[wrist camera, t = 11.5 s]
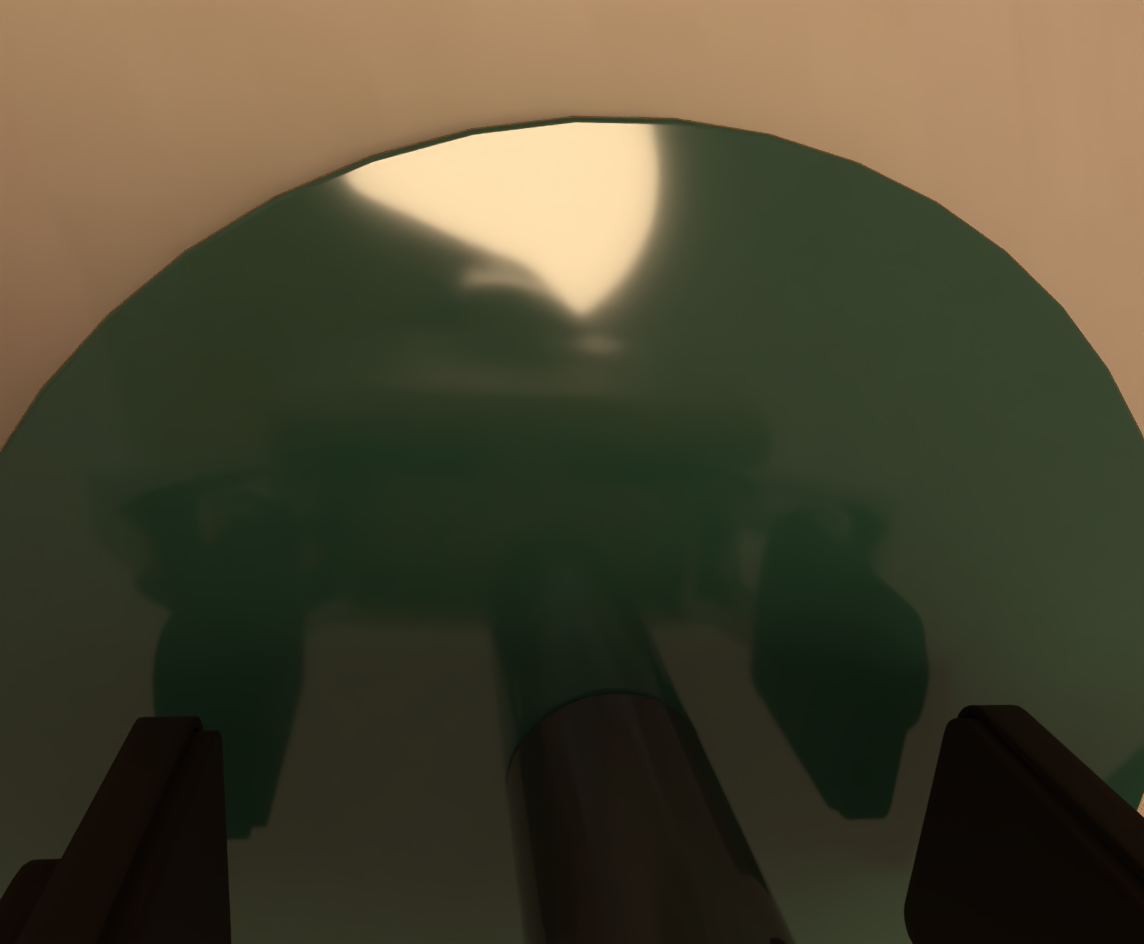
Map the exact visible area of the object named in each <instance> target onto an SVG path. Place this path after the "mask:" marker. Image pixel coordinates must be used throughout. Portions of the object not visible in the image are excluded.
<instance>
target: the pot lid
mask: <svg viewBox="0 0 1144 944" xmlns="http://www.w3.org/2000/svg"><path fill="white" fill-rule="evenodd" d="M969 705H1017V706H1020V707H1021V708H1023V709H1024V710H1026V711H1027V712H1028V713H1029V714H1030V715H1031V716H1033V717H1034V718H1035V719H1036V720H1037V721H1038V722H1039V723H1040V724H1041V725H1042V726H1044V727H1045V728H1046V729H1047V730H1048V731H1049V732H1050V733H1051V734H1052V735H1053V736H1055V737H1056V738H1057V739H1058V740H1059V741H1060V742H1061V743H1062V744H1063V745H1064V746H1066V747H1067V748H1068V749H1069V750H1070V751H1071V752H1072V753H1073V754H1074V755H1075V756H1077V757H1078V758H1079V759H1080V760H1081V761H1082V762H1083V763H1084V764H1085V765H1086V766H1088V767H1089V768H1090V769H1091V770H1092V771H1093V772H1094V773H1095V774H1096V775H1097V776H1099V777H1100V778H1101V779H1102V780H1103V781H1104V782H1105V783H1106V784H1107V785H1108V786H1110V787H1111V788H1112V789H1113V790H1114V791H1115V792H1116V793H1117V794H1118V795H1119V796H1121V797H1122V798H1123V799H1124V800H1125V801H1126V802H1127V803H1128V804H1129V805H1130V806H1132V807H1133V808H1134V809H1135V810H1136V811H1137V810H1138V807H1139V804H1140V802H1141V799H1142V797H1143V794H1144V438H1143V435H1142V433H1141V431H1140V429H1139V427H1138V425H1137V423H1136V421H1135V419H1134V417H1133V415H1132V414H1131V412H1130V410H1129V408H1128V406H1127V404H1126V402H1125V400H1124V398H1123V396H1122V394H1121V392H1120V390H1119V388H1118V386H1117V385H1116V383H1115V381H1114V379H1113V377H1112V375H1111V373H1110V371H1109V369H1108V368H1107V366H1106V365H1105V364H1104V362H1103V361H1102V360H1101V358H1100V357H1099V356H1098V354H1097V353H1096V351H1095V350H1094V349H1093V347H1092V346H1091V345H1090V343H1089V342H1088V341H1087V339H1086V338H1085V337H1084V335H1083V334H1082V333H1081V331H1080V330H1079V328H1078V327H1077V326H1076V324H1075V323H1074V322H1073V320H1072V319H1071V318H1070V316H1069V315H1068V314H1067V312H1066V311H1065V310H1064V308H1063V307H1062V306H1061V305H1060V304H1059V303H1058V302H1057V301H1056V300H1055V299H1054V298H1053V297H1052V296H1051V295H1050V294H1049V293H1048V292H1047V291H1046V290H1045V289H1044V288H1043V287H1042V286H1041V285H1040V284H1039V283H1038V282H1037V281H1036V280H1035V279H1034V278H1033V277H1032V276H1031V275H1030V274H1029V273H1028V272H1027V271H1026V270H1025V269H1024V268H1023V267H1022V266H1021V265H1020V264H1019V263H1018V262H1017V261H1016V260H1014V259H1013V258H1012V257H1011V256H1010V255H1009V254H1008V253H1007V252H1006V251H1005V250H1004V249H1003V248H1001V247H1000V246H998V245H997V244H996V243H994V242H993V241H991V240H990V239H989V238H987V237H986V236H984V235H983V234H982V233H980V232H979V231H977V230H976V229H975V228H973V227H972V226H970V225H969V224H967V223H966V222H965V221H963V220H962V219H960V218H959V217H958V216H956V215H955V214H953V213H952V212H951V211H949V210H948V209H946V208H945V207H944V206H942V205H941V204H939V203H938V202H936V201H934V200H932V199H930V198H928V197H926V196H924V195H922V194H920V193H918V192H916V191H914V190H912V189H910V188H908V187H906V186H904V185H902V184H900V183H898V182H896V181H894V180H892V179H890V178H888V177H886V176H884V175H882V174H880V173H878V172H876V171H874V170H872V169H870V168H868V167H866V166H864V165H862V164H860V163H858V162H856V161H853V160H849V159H846V158H843V157H840V156H837V155H834V154H831V153H828V152H825V151H822V150H818V149H815V148H812V147H809V146H806V145H803V144H800V143H797V142H794V141H791V140H787V139H784V138H781V137H778V136H775V135H772V134H768V133H762V132H756V131H750V130H744V129H738V128H732V127H726V126H720V125H714V124H708V123H702V122H696V121H690V120H684V119H678V118H653V117H604V116H569V117H561V118H553V119H544V120H536V121H528V122H520V123H512V124H503V125H495V126H487V127H479V128H471V129H467V130H464V131H460V132H456V133H453V134H449V135H445V136H441V137H438V138H434V139H430V140H426V141H423V142H419V143H415V144H411V145H408V146H404V147H400V148H397V149H393V150H389V151H385V152H382V153H378V154H374V155H371V156H368V157H366V158H363V159H361V160H359V161H356V162H354V163H352V164H349V165H347V166H345V167H342V168H340V169H338V170H335V171H333V172H331V173H328V174H326V175H324V176H321V177H319V178H316V179H314V180H312V181H309V182H307V183H305V184H302V185H300V186H298V187H295V188H293V189H291V190H288V191H286V192H284V193H281V194H279V195H277V196H274V197H273V198H271V199H269V200H268V201H266V202H264V203H263V204H261V205H259V206H258V207H256V208H254V209H253V210H251V211H249V212H248V213H246V214H244V215H243V216H241V217H239V218H238V219H236V220H235V221H233V222H231V223H230V224H228V225H226V226H225V227H223V228H221V229H220V230H218V231H216V232H215V233H213V234H211V235H210V236H208V237H206V238H205V239H203V240H202V241H200V242H198V243H197V244H195V245H193V246H192V247H190V248H188V249H187V250H185V251H184V252H183V253H181V254H180V255H179V256H178V257H177V258H175V259H174V260H173V261H172V262H171V263H169V264H168V265H167V266H166V267H164V268H163V269H162V270H161V271H160V272H158V273H157V274H156V275H155V276H154V277H152V278H151V279H150V280H149V281H147V282H146V283H145V284H144V285H143V286H141V287H140V288H139V289H138V290H137V291H135V292H134V293H133V294H132V295H130V296H129V297H128V298H127V299H126V300H124V301H123V302H122V303H121V304H120V305H118V306H117V307H116V308H115V309H113V310H112V311H111V312H110V313H109V314H107V315H106V316H105V318H104V319H103V320H102V321H101V322H100V323H99V324H98V325H97V326H96V328H95V329H94V330H93V331H92V332H91V333H90V334H89V335H88V336H87V338H86V339H85V340H84V341H83V342H82V343H81V344H80V345H79V346H78V348H77V349H76V350H75V351H74V352H73V353H72V354H71V355H70V356H69V358H68V359H67V360H66V361H65V362H64V363H63V364H62V365H61V366H60V368H59V369H58V370H57V371H56V372H55V373H54V374H53V375H52V376H51V378H50V379H49V380H48V381H47V382H46V383H45V384H44V385H43V386H42V388H41V389H40V390H39V392H38V393H37V395H36V397H35V398H34V400H33V401H32V403H31V404H30V406H29V407H28V409H27V410H26V412H25V413H24V415H23V416H22V418H21V419H20V421H19V423H18V424H17V426H16V427H15V429H14V430H13V432H12V433H11V435H10V436H9V438H8V439H7V441H6V442H5V444H4V445H3V447H2V449H1V450H0V899H1V898H2V896H3V894H4V893H5V891H6V889H7V888H8V886H9V884H10V883H11V881H12V879H13V878H14V876H15V875H16V874H17V872H18V871H19V870H20V868H21V867H22V866H23V865H24V864H26V863H28V862H29V861H31V860H39V859H61V858H62V856H63V854H64V852H65V850H66V848H67V847H68V845H69V843H70V841H71V839H72V837H73V835H74V834H75V832H76V830H77V828H78V826H79V824H80V823H81V821H82V819H83V817H84V815H85V813H86V811H87V810H88V808H89V806H90V804H91V802H92V800H93V798H94V797H95V795H96V793H97V791H98V789H99V787H100V786H101V784H102V782H103V780H104V778H105V776H106V774H107V773H108V771H109V769H110V767H111V765H112V763H113V762H114V760H115V758H116V756H117V754H118V752H119V750H120V749H121V747H122V745H123V743H124V741H125V739H126V737H127V736H128V734H129V732H130V730H131V728H132V726H133V725H134V723H135V722H136V720H137V719H138V718H140V717H173V716H198V717H199V718H200V719H201V722H202V726H203V731H219V732H220V733H221V737H222V748H223V769H224V791H225V812H226V834H227V855H228V877H229V898H230V920H231V944H912V942H911V940H910V938H909V936H908V933H907V930H906V926H905V920H904V905H905V900H906V895H907V891H908V887H909V882H910V878H911V874H912V869H913V865H914V861H915V856H916V852H917V848H918V843H919V839H920V835H921V830H922V826H923V822H924V817H925V813H926V809H927V804H928V800H929V796H930V791H931V787H932V783H933V778H934V774H935V770H936V765H937V761H938V757H939V752H940V748H941V744H942V739H943V735H944V731H945V728H946V725H947V724H948V722H949V721H950V720H952V719H954V718H957V717H958V714H959V713H960V711H961V710H962V709H963V708H964V707H967V706H969Z"/></svg>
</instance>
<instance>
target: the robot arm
mask: <svg viewBox="0 0 1144 944" xmlns="http://www.w3.org/2000/svg"><path fill="white" fill-rule="evenodd" d="M904 920H905V926H906V930H907V933H908V936H909V938H910V940H911V942H912V944H1144V817H1143V816H1141V815H1140V814H1139V813H1138V812H1137V811H1136V810H1135V809H1134V808H1133V807H1132V806H1130V805H1129V804H1128V803H1127V802H1126V801H1125V800H1124V799H1123V798H1122V797H1121V796H1119V795H1118V794H1117V793H1116V792H1115V791H1114V790H1113V789H1112V788H1111V787H1110V786H1108V785H1107V784H1106V783H1105V782H1104V781H1103V780H1102V779H1101V778H1100V777H1099V776H1097V775H1096V774H1095V773H1094V772H1093V771H1092V770H1091V769H1090V768H1089V767H1088V766H1086V765H1085V764H1084V763H1083V762H1082V761H1081V760H1080V759H1079V758H1078V757H1077V756H1075V755H1074V754H1073V753H1072V752H1071V751H1070V750H1069V749H1068V748H1067V747H1066V746H1064V745H1063V744H1062V743H1061V742H1060V741H1059V740H1058V739H1057V738H1056V737H1055V736H1053V735H1052V734H1051V733H1050V732H1049V731H1048V730H1047V729H1046V728H1045V727H1044V726H1042V725H1041V724H1040V723H1039V722H1038V721H1037V720H1036V719H1035V718H1034V717H1033V716H1031V715H1030V714H1029V713H1028V712H1027V711H1026V710H1024V709H1023V708H1021V707H1020V706H1017V705H969V706H967V707H964V708H963V709H962V710H961V711H960V713H959V714H958V717H957V718H954V719H952V720H950V721H949V722H948V724H947V725H946V728H945V731H944V735H943V739H942V744H941V748H940V752H939V757H938V761H937V765H936V770H935V774H934V778H933V783H932V787H931V791H930V796H929V800H928V804H927V809H926V813H925V817H924V822H923V826H922V830H921V835H920V839H919V843H918V848H917V852H916V856H915V861H914V865H913V869H912V874H911V878H910V882H909V887H908V891H907V895H906V900H905V905H904ZM0 944H231V920H230V898H229V877H228V855H227V834H226V812H225V791H224V769H223V748H222V737H221V733H220V732H219V731H203V726H202V722H201V719H200V718H199V717H198V716H173V717H140V718H138V719H137V720H136V722H135V723H134V725H133V726H132V728H131V730H130V732H129V734H128V736H127V737H126V739H125V741H124V743H123V745H122V747H121V749H120V750H119V752H118V754H117V756H116V758H115V760H114V762H113V763H112V765H111V767H110V769H109V771H108V773H107V774H106V776H105V778H104V780H103V782H102V784H101V786H100V787H99V789H98V791H97V793H96V795H95V797H94V798H93V800H92V802H91V804H90V806H89V808H88V810H87V811H86V813H85V815H84V817H83V819H82V821H81V823H80V824H79V826H78V828H77V830H76V832H75V834H74V835H73V837H72V839H71V841H70V843H69V845H68V847H67V848H66V850H65V852H64V854H63V856H62V858H61V859H39V860H31V861H29V862H28V863H26V864H24V865H23V866H22V867H21V868H20V870H19V871H18V872H17V874H16V875H15V876H14V878H13V879H12V881H11V883H10V884H9V886H8V888H7V889H6V891H5V893H4V894H3V896H2V898H1V899H0Z"/></svg>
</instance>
